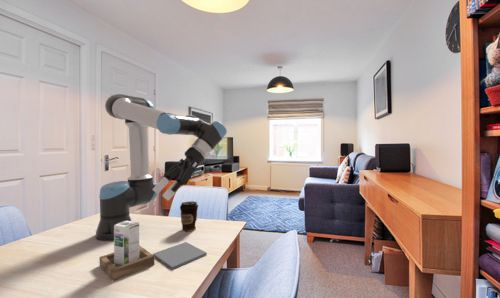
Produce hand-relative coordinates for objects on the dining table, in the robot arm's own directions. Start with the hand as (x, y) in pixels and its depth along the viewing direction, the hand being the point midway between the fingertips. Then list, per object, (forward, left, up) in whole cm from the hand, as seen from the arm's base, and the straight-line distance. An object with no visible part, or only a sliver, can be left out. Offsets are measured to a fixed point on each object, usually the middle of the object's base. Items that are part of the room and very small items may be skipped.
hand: (159, 194), depth 86 cm
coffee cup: (-16, +22, -23) cm, 36 cm away
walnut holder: (-3, -11, -23) cm, 25 cm away
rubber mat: (+4, +5, -23) cm, 24 cm away
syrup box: (-3, -11, -23) cm, 25 cm away
